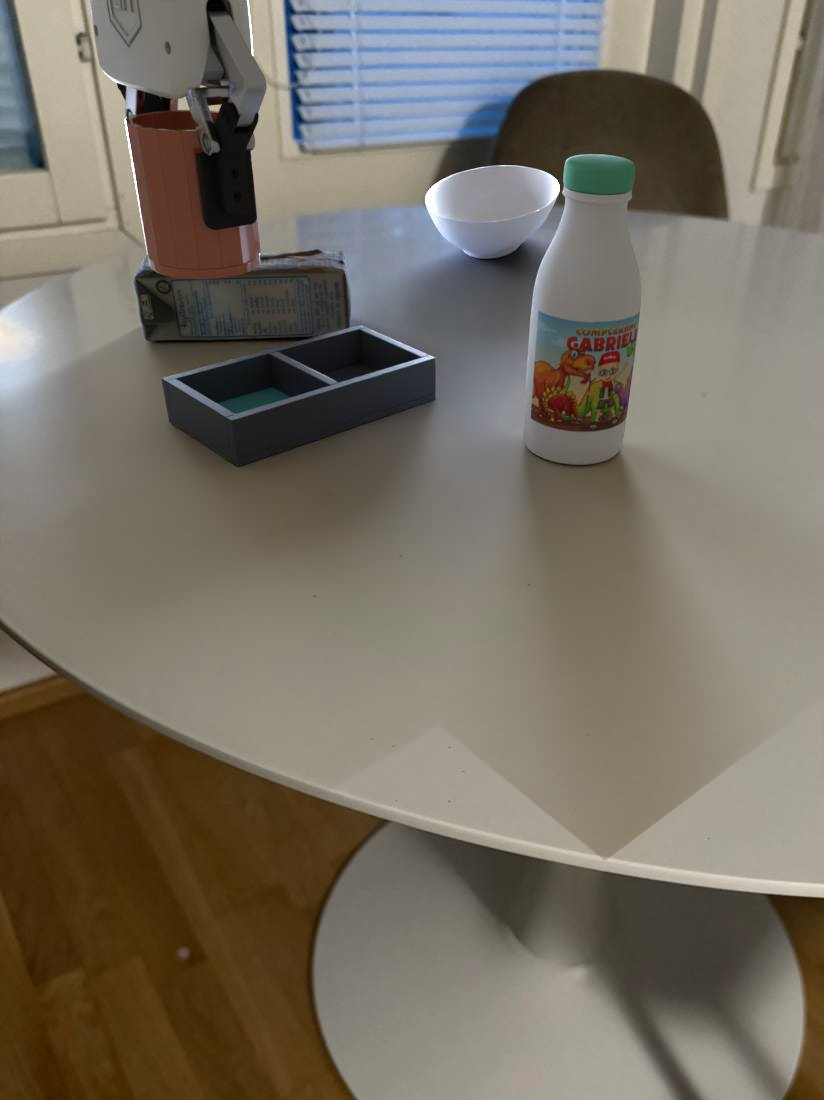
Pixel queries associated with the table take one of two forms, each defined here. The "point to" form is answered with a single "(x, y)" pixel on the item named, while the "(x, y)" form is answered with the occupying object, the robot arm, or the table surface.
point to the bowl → (491, 208)
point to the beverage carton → (249, 300)
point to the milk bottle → (584, 319)
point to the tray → (298, 392)
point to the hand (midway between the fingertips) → (198, 209)
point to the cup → (182, 202)
